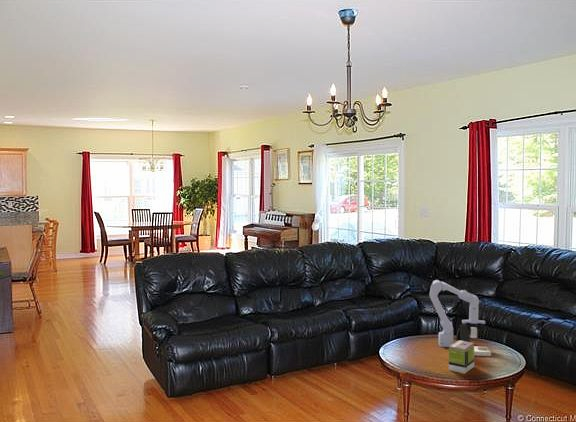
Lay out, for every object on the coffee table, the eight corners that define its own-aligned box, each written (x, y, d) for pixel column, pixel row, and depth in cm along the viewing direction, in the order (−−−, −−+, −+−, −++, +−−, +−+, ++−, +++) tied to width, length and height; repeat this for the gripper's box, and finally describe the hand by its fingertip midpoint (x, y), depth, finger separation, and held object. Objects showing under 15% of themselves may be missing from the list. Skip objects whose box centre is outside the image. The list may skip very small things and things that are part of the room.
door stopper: (470, 343, 364) (470, 325, 363) (462, 343, 363) (463, 326, 362) (462, 339, 373) (463, 322, 372) (455, 340, 371) (455, 322, 370)
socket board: (464, 355, 339) (464, 351, 339) (460, 349, 350) (461, 345, 350) (490, 356, 337) (490, 352, 337) (486, 350, 348) (486, 346, 348)
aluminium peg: (470, 337, 353) (470, 328, 353) (469, 335, 357) (469, 327, 357) (476, 337, 353) (477, 328, 352) (475, 336, 357) (475, 327, 356)
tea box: (458, 363, 324) (458, 339, 323) (474, 367, 318) (475, 342, 317) (448, 370, 313) (448, 345, 312) (464, 374, 306) (465, 348, 305)
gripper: (463, 315, 351) (463, 335, 352) (486, 315, 349) (486, 336, 350) (461, 312, 358) (460, 332, 359) (483, 313, 356) (483, 333, 357)
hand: (473, 334), depth 355 cm, fingers closed on aluminium peg, 4 cm apart
